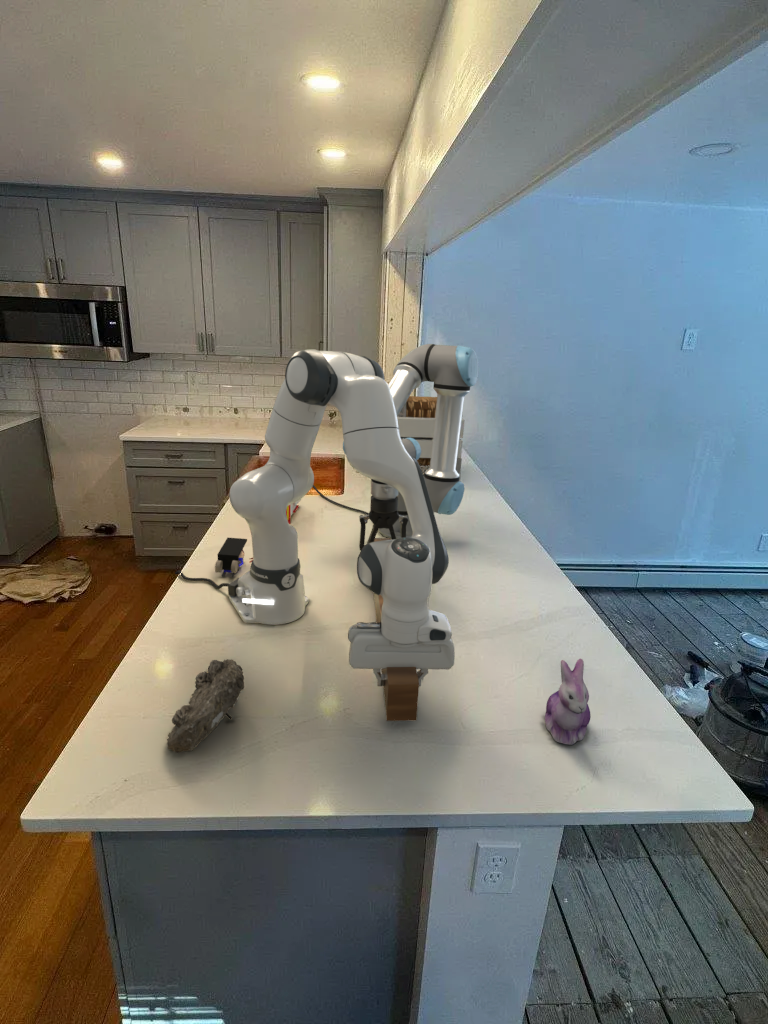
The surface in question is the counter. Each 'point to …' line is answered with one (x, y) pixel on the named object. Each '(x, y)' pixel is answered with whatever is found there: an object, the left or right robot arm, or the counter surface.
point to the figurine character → (230, 556)
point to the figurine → (569, 706)
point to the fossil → (206, 705)
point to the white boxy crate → (423, 427)
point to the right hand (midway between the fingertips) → (381, 572)
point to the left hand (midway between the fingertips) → (399, 684)
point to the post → (398, 682)
